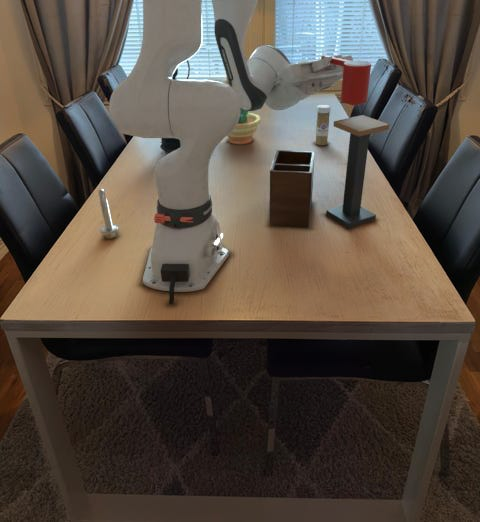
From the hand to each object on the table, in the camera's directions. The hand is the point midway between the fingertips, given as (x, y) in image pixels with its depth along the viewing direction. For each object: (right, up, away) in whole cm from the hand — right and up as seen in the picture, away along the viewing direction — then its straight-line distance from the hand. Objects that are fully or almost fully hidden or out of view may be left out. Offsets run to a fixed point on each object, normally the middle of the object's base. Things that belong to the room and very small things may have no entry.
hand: (335, 58), depth 111 cm
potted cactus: (-22, -3, +65) cm, 69 cm away
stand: (+7, -36, +13) cm, 39 cm away
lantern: (-44, -9, +57) cm, 73 cm away
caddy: (-9, -35, +15) cm, 39 cm away
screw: (-55, -42, +8) cm, 70 cm away
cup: (+2, -8, +2) cm, 9 cm away
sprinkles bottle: (+7, -5, +60) cm, 60 cm away
